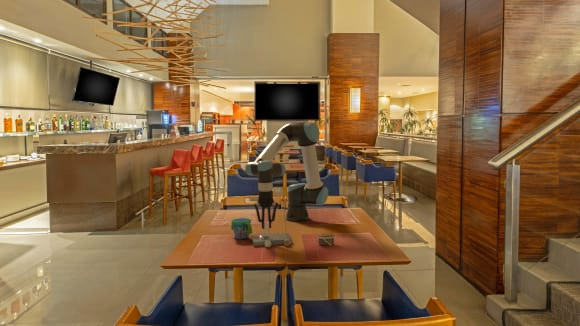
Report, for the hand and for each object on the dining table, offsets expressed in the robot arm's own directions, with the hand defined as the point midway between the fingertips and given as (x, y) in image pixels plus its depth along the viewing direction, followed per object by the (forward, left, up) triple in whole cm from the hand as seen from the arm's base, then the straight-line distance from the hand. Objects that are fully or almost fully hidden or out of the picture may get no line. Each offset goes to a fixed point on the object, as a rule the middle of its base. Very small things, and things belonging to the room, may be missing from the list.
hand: (266, 234), depth 228 cm
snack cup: (+12, -12, -4) cm, 18 cm away
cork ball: (-9, +9, -2) cm, 14 cm away
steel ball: (+3, 0, -2) cm, 4 cm away
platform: (-29, +13, -5) cm, 32 cm away
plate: (-3, 0, -4) cm, 5 cm away
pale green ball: (+1, +9, -2) cm, 10 cm away
